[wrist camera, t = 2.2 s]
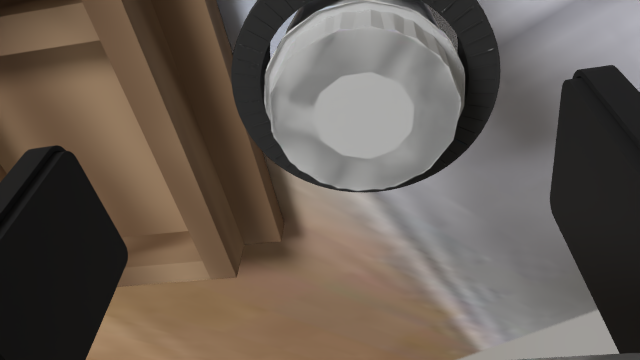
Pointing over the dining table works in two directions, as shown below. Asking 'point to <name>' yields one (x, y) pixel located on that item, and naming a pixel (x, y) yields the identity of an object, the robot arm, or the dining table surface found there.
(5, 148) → the brown wooden divided tray
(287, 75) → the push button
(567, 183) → the robot arm
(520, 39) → the dining table surface
